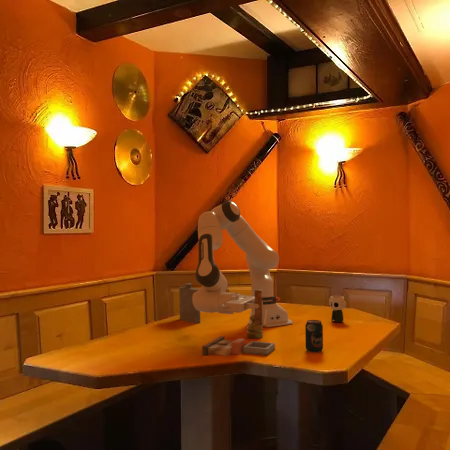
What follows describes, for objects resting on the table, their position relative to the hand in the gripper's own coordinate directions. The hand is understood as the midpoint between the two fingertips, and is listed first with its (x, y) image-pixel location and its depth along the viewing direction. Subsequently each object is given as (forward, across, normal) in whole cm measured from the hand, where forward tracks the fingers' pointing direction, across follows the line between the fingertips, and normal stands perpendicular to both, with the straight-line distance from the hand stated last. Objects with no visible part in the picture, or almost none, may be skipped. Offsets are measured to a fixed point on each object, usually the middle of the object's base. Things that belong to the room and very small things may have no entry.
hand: (260, 305), depth 204 cm
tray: (-1, 0, +19) cm, 19 cm away
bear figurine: (+18, +70, +19) cm, 74 cm away
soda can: (+20, +8, +19) cm, 29 cm away
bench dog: (-8, -4, +19) cm, 21 cm away
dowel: (-1, 0, +8) cm, 8 cm away
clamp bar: (-19, -4, +19) cm, 27 cm away
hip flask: (-55, +45, +19) cm, 73 cm away
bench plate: (-15, -4, +19) cm, 24 cm away
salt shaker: (-11, +23, +19) cm, 32 cm away
